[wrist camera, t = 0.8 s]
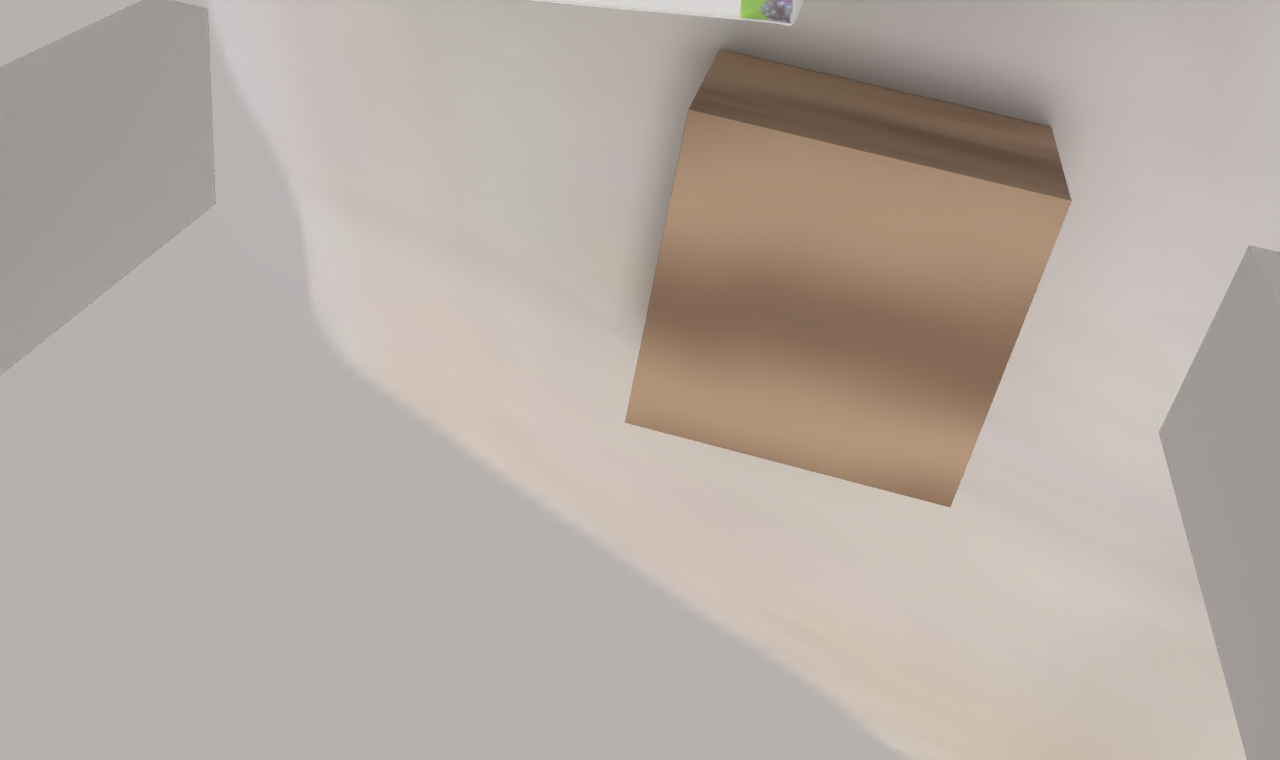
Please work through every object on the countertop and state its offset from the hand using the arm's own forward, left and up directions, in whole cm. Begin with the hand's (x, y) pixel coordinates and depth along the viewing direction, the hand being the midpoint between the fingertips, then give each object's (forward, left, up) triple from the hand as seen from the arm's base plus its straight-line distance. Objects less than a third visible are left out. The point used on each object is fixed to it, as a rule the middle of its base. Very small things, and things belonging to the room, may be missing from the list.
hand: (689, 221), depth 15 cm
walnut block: (+9, +3, -22) cm, 24 cm away
